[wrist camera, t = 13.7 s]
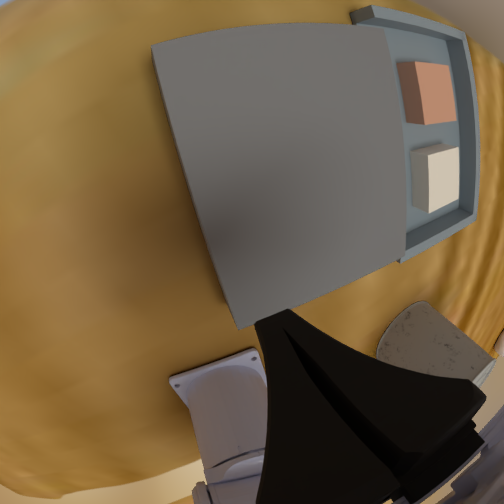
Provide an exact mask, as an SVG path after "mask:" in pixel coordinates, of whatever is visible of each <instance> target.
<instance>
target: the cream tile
mask: <svg viewBox="0 0 504 504" xmlns="http://www.w3.org/2000/svg"><path fill="white" fill-rule="evenodd" d="M410 158H411V173H412V204H413V207H415V208H417V209H420V210H422V211H424V212H426V213H431V212H433V211H435V210H437V209H439V208H441V207H443V206H445V205H447V204H449V203H451V202H453V201H455V200H457V199H459V147H456V146H452V145H448V144H443V143H441V144H437V145H433V146H429V147H424V148H420V149H416V150H413V151H410Z"/></svg>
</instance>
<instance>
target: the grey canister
mask: <svg viewBox="0 0 504 504" xmlns="http://www.w3.org/2000/svg"><path fill="white" fill-rule="evenodd" d="M376 356H377V360H380V361H382V362H385V363H388V364H391V365H394V366H397V367H401V368H405V369H408V370H412V371H416V372H420V373H424V374H429V375H435V376H441V377H450V378H461V379H469V380H470V381H472V382H473V383H474V384H475V385H476V386H477V387H478V388H480V387H481V386H482V384H483V383H484V381H485V380H486V378H487V377H488V376H489V374H490V373H491V371H492V369H493V367H494V365H495V363H496V359H495V358H494V359H493V358H492V357H491V356H490V355H489V354H488V353H487V352H485V351H484V350H483V349H482V348H481V347H480V346H479V345H477V344H476V343H475V342H474V341H473V340H472V339H470V338H469V337H468V336H467V335H466V334H464V333H463V332H462V331H461V330H460V329H459V328H457V327H456V326H455V325H454V324H452V323H451V322H450V321H449V320H448V319H446V318H445V317H444V316H443V315H441V314H440V313H439V312H438V311H436V310H435V309H434V308H433V307H431V306H430V304H429V303H427V302H425V301H419V302H416V303H414V304H412V305H410V306H409V307H407V308H406V309H405V310H403V311H402V312H401V313H400V314H399V315H398V316H397V317H396V318H395V319H394V320H393V321H392V322H391V324H390V325H389V326H388V328H387V329H386V331H385V332H384V334H383V335H382V337H381V339H380V341H379V343H378V346H377V350H376Z"/></svg>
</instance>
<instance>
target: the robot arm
mask: <svg viewBox="0 0 504 504" xmlns="http://www.w3.org/2000/svg"><path fill="white" fill-rule="evenodd" d="M254 326H255V330H256V333H257V336H258V339H259V342H260V345H261V349H262V352H263V355H264V362H265V369H266V374H265V371H264V368H263V365H262V363H261V360H260V357H259V354H258V351H257V350H256V349H255V348H251V349H248V350H246V351H243V352H241V353H238V354H235V355H233V356H230V357H227V358H224V359H222V360H219V361H216V362H213V363H211V364H208V365H205V366H202V367H199V368H196V369H193V370H190V371H187V372H184V373H181V374H178V375H175V376H172V377H170V378H169V383H170V385H171V386H172V388H173V389H174V390H175V392H176V393H177V394H178V395H179V397H180V398H181V399H182V401H183V402H184V403H185V404H186V406H187V407H188V408H189V410H190V415H191V419H192V423H193V428H194V432H195V436H196V440H197V444H198V448H199V452H200V455H201V459H202V463H203V466H204V474H205V478H206V481H207V484H208V485H205V482H204V481H202V482H197V483H196V486H195V487H194V489H193V490H192V496H193V500H194V504H383V503H384V502H386V501H388V500H389V499H392V501H393V503H392V504H420V503H421V502H423V501H424V500H425V499H427V498H428V497H429V496H431V495H432V494H433V493H435V492H436V491H437V490H438V489H440V488H441V487H442V486H443V485H444V484H445V483H447V482H448V481H449V480H450V479H451V478H453V477H454V476H455V475H456V474H457V473H458V472H459V471H461V470H462V469H463V468H464V467H465V466H466V465H467V464H468V463H469V462H470V461H471V460H472V459H473V458H474V457H475V456H476V455H477V454H478V453H479V452H480V451H481V456H480V458H479V459H477V460H476V461H475V462H474V463H473V464H471V465H470V466H469V467H468V468H467V469H466V470H464V471H463V473H461V474H460V475H459V476H458V477H457V478H456V479H455V480H454V481H453V482H452V483H451V487H452V488H453V491H452V492H451V493H449V494H448V495H447V496H445V497H444V498H443V499H442V500H440V501H439V502H438V503H436V504H504V405H503V406H502V408H501V409H500V410H499V411H498V412H497V414H496V415H495V416H494V417H493V418H492V419H491V420H490V421H489V422H488V424H487V425H486V426H485V427H484V428H483V429H482V430H481V431H480V432H479V433H477V432H476V431H475V430H474V428H475V427H476V424H475V423H474V422H473V420H472V418H473V417H474V415H475V414H476V413H477V411H478V410H479V409H480V408H481V406H482V405H483V404H484V402H485V401H486V395H485V394H484V393H483V392H482V391H481V390H480V389H479V388H478V387H477V386H476V385H475V384H474V383H473V382H472V381H470V380H469V379H461V378H450V377H441V376H435V375H429V374H424V373H420V372H416V371H412V370H408V369H405V368H401V367H397V366H394V365H391V364H388V363H385V362H382V361H380V360H377V359H375V358H372V357H370V356H367V355H365V354H363V353H361V352H359V351H356V350H354V349H352V348H350V347H348V346H346V345H345V344H343V343H341V342H339V341H337V340H335V339H334V338H332V337H330V336H329V335H327V334H325V333H324V332H322V331H320V330H319V329H317V328H316V327H314V326H313V325H311V324H310V323H308V322H307V321H305V320H304V319H303V318H301V317H300V316H298V315H297V314H296V313H294V312H293V311H292V310H290V309H285V310H283V311H280V312H278V313H276V314H273V315H271V316H268V317H266V318H263V319H261V320H258V321H256V322H255V324H254ZM253 357H254V358H253Z"/></svg>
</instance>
